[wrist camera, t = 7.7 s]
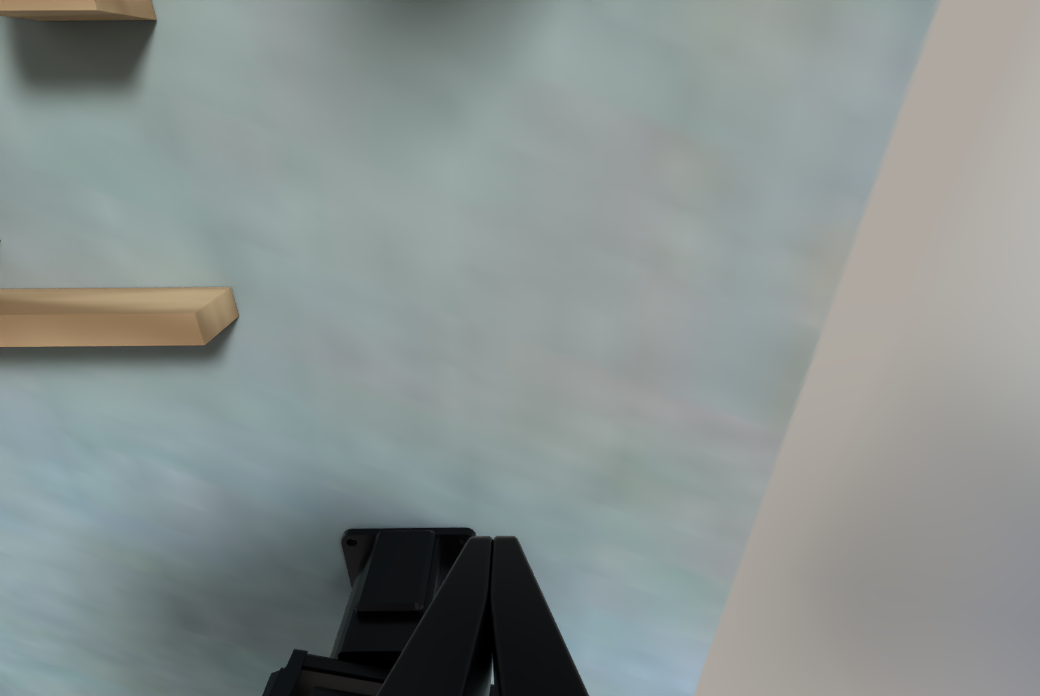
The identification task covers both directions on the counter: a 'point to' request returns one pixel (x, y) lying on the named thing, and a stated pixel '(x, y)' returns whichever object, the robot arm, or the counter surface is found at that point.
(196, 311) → the channel
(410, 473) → the counter surface
